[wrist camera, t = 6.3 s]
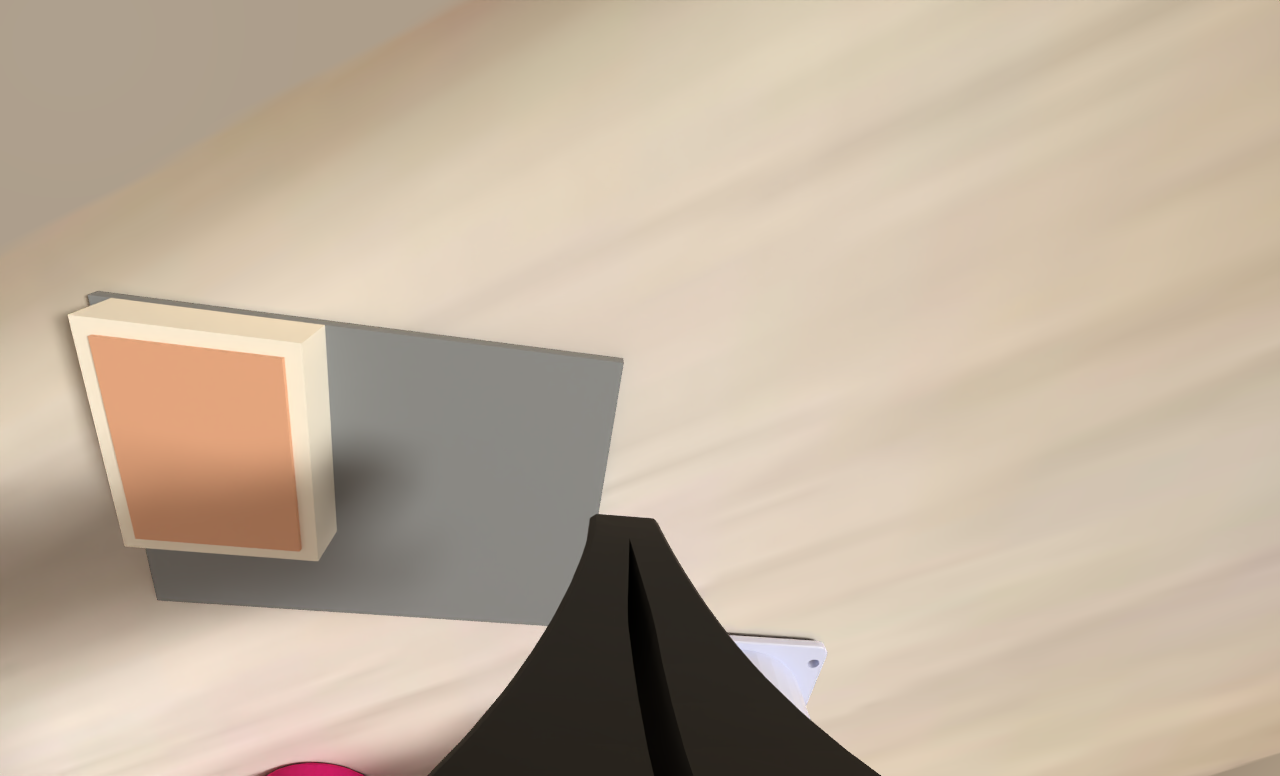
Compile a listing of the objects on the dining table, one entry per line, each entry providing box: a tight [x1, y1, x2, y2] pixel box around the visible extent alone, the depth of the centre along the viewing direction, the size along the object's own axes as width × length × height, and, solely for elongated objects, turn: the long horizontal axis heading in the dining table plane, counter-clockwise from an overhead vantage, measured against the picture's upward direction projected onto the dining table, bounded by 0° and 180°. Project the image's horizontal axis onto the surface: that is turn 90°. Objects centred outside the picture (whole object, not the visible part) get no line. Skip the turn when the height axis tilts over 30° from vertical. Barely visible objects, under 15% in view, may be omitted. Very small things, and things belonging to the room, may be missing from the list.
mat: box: [88, 291, 624, 626], centre depth 21 cm, size 12×16×1 cm
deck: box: [68, 298, 337, 561], centre depth 19 cm, size 8×2×6 cm
